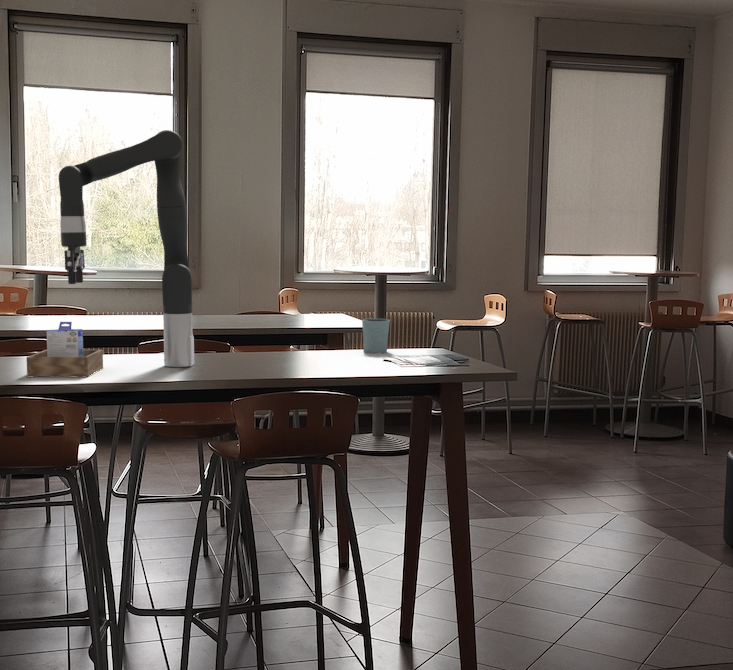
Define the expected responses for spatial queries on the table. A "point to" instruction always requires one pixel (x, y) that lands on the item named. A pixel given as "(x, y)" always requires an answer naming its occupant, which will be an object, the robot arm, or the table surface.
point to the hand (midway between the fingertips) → (75, 283)
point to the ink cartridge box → (65, 342)
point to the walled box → (65, 364)
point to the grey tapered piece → (375, 335)
